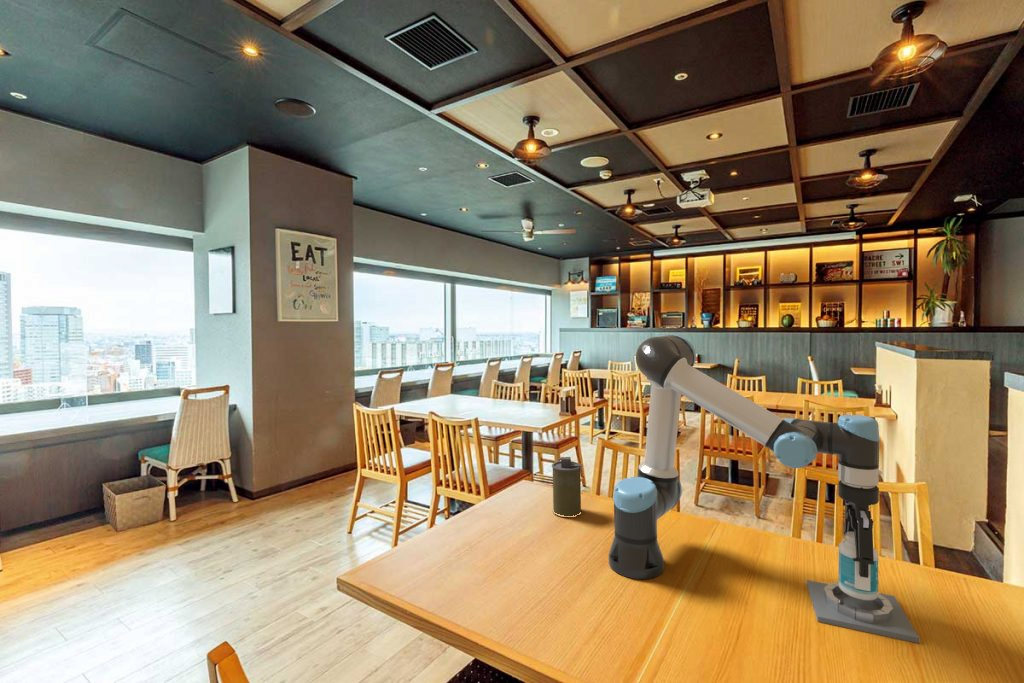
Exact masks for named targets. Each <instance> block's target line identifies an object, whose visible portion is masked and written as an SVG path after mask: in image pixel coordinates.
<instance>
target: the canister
mask: <svg viewBox="0 0 1024 683" xmlns="http://www.w3.org/2000/svg"><path fill="white" fill-rule="evenodd" d="M582 467H583V463H578V462H577V461H572V459H571V456H561V457H559V458H558V461H556V462H554V463H552V464H551V468H552V501H553V502H552V504H553V505H552V506H553V509H552V511H553V510H554V512H555V513H557V514H560V515H564V516H573V515H574V516H575V515H577V514H579V513H580V512H581V511H582V496H583V491H584V490H583V488H581V487H582V486H581V485H582V484H581V482H582V478H581V468H582ZM581 490H582V491H581ZM581 494H582V496H581Z"/></svg>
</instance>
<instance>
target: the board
mask: <svg viewBox="0 0 1024 683" xmlns="http://www.w3.org/2000/svg"><path fill="white" fill-rule="evenodd" d="M828 584H829V583H825V582H820V581H815V580H810V579H806V587H807V590H808V595H809V597H810V600H811V604H812V606H813V610H814V614H815V618H816V620H817V622H818V623H823V624H827V625H832V626H835V627H836V626H837V627H842V628H846V629H851V630H854V631H860V632H865V633H868V634H873V635H879V636H884V637H889V638H891V639H898V640H902V641H906V642H911V643H915V644H916V643H917V644H920V636H919V635H918V633H917V631H916V629H915V628H914V627H913V624H912V623H911V622H910V620H909V618H908V616H907V614H906V613H905V612H904V610H903V608H902V606H901V605H900V603H899V601H898V599H897V598H896V596H895V595H891V594H887V593H886V594H885V593H880V592H878V593H879V594H881V595H882V596H884V597H885V598H887V599H888V600H889V602H890V603H891V605H892V607H893V617H892V619H891V620H890V621H889V622H888V623H878V624H874V623H873V624H872V623H867V622H862V621H857V620H854V619H852V618H849V617H847V616H845V615H843V614H840V613H838V612H837V611H835V610H834V609H833V608H832V607H830V606H829V605H828V604H827V603H826V600H825V597H824V587H826V586H827V585H828ZM835 597H836V598H838V599H841V600H843V601H844V603H845V604H848V605H850V606H852V607H855V608H859V609H864V610H869V611H872V610H881V607H879V606H878V605H876V604H875V603H873V602H872V601H870V600H861V599H857V598H854V597H851V596H849V595H847V594H836V595H835Z"/></svg>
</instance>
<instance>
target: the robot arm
mask: <svg viewBox="0 0 1024 683" xmlns="http://www.w3.org/2000/svg"><path fill="white" fill-rule="evenodd" d="M635 353H636V354H635V362H636V363H635V364H636V366H637V368H638V370H639V371H640V372H641V373H642V375H643V376H645V377H646V380H647V381H648V383H649V384H650V385H651V387H650V398H649V409H648V418H647V419H648V420H647V428H646V429H647V430H646V440H645V450H644V459H643V461H642V462H641V463H639V464H638V467H637V476H631V477H624V478H623V479H620V480H619V481H618V482H616V484H615V486H614V490H613V500H612V501H613V512H614V513H613V514H614V515H613V517H614V518H613V520H614V525H613V526H614V536H613V540H612V543H611V546H610V548H609V552H608V565H609V567H610V568H611V569H612V570H613V571H614V572H615V573H616V574H619V575H620V576H623V577H626V578H630V579H636V580H650V579H654V578H657V577H659V576H661V575H662V573H663V572H664V569H665V559H664V556H663V554H662V550H661V548H660V544H659V542H658V520H659V519H660V518H661V517H663V516H664V515H665V514H666V513H668V512H669V511H671V510H672V509H674V508H675V507H676V506H677V505H678V503H679V501H680V499H681V497H682V493H683V491H682V490H683V489H682V483H681V481H680V480H679V471H678V470H677V468H676V467H675V458H676V449H677V438H678V430H679V429H678V428H679V420H680V419H679V418H680V411H681V401H682V400H681V399H682V396H683V397H685V398H686V399H688V400H690V401H691V402H693V403H695V404H696V405H697V406H699V407H700V408H702V409H704V410H705V411H707V412H709V413H710V414H712V415H714V416H715V417H717V418H719V419H720V420H722V421H723V422H725V423H727V424H728V425H730V426H731V427H733V428H735V429H736V430H738V431H740V432H741V433H743V434H744V435H746V436H748V437H749V438H750V439H752V440H754V441H756V442H757V443H759V444H761V445H763V447H765V448H767V449H769V450H770V451H772V452H773V453H774V456H775V457H776V459H777V460H778V461H779V463H780V464H782V465H784V466H786V467H789V468H791V469H802V468H805V467H806V466H808V465H809V464H810V463H811V462H814V460H816V458H817V455H818V454H826V455H831V456H833V455H835V456H837V457H838V458H837V459H838V460H837V461H838V462H837V477H838V480H839V481H838V483H837V484H838V486H837V488H838V489H837V490H838V492H837V494H838V497H839V498H840V499H841V500H843V501H844V509H845V510H844V526H843V527H844V528H843V530H844V531H843V535H844V536H845V537H846V533H847V532H854V534H855V546H856V558H853V561H855V588H856V589H861V590H867V591H870V572H871V565H874V557H873V548H874V534H873V533H874V532H873V531H874V530H873V528H874V520H873V518H872V514H871V511H870V510H869V508H868V507H869V506H871V505H872V506H873V505H875V506H876V504H877V505H878V503H879V501H880V488H879V487H878V485H879V481H880V480H879V476H881V475H882V474H883V473H882V471H881V470H880V469H879V468H880V467H879V466H880V465H879V464H880V460H879V459H880V430H879V428H880V426H879V423H878V421H877V420H876V419H875V418H874V417H871V416H867V415H866V416H865V415H860V414H843V415H840V416H839V417H838V421H836V422H827V421H818V420H811V419H810V420H809V419H801V418H783V417H781V416H778V415H777V414H775V413H773V412H772V411H770V410H768V409H766V408H764V407H763V406H761V405H759V404H758V403H756V402H754V401H753V400H751V399H749V398H747V397H746V396H744V395H742V394H740V393H738V392H737V391H735V390H734V389H732V388H730V387H728V386H726V385H724V384H723V383H721V382H719V381H718V380H716V379H715V378H713V377H711V376H710V375H707V374H705V373H704V372H702V371H700V370H699V369H697V368H695V367H694V365H695V364H696V361H697V352H696V350H695V347H694V346H693V344H692V343H691V342H690V341H689V340H688V339H687V338H685V337H683V336H679V335H674V334H672V335H670V334H667V335H662V336H652V337H649V338H646V339H645V340H644V341H643V342H641V343H640V345H639V346H638V348H637V349H636V352H635Z"/></svg>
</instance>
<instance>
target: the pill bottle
mask: <svg viewBox="0 0 1024 683" xmlns="http://www.w3.org/2000/svg"><path fill="white" fill-rule="evenodd" d="M873 557H874V565H871V572H870V591H867V590H861V589H856V588H855V561H853V558H856V546H855V534H854V532H847V533H846V536H845V539H844V540H842V541H841V542H839V544H838V582H839V587H840V589H841V590H842V591H843V592H844V593H846V594H847V595H849V596H851V597H854V598H857V599H861V600H874V599H876V598H877V597H878V593H879V553H878V551H877V549H876V548H875V547H873Z"/></svg>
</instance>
